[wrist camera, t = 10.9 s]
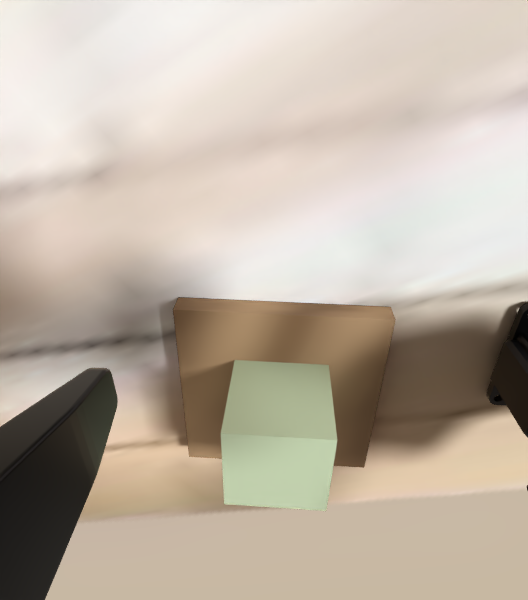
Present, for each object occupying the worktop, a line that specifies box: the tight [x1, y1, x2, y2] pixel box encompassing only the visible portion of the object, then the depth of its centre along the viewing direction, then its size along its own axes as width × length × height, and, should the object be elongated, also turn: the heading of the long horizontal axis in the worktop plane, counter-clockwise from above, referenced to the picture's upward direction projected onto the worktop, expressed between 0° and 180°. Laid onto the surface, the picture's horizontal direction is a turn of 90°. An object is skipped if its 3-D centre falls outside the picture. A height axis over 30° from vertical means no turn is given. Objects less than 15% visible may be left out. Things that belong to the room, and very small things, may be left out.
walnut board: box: [173, 297, 395, 467], centre depth 24 cm, size 11×11×1 cm
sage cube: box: [221, 360, 337, 511], centre depth 21 cm, size 5×5×5 cm
